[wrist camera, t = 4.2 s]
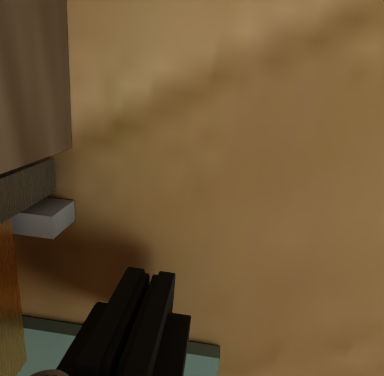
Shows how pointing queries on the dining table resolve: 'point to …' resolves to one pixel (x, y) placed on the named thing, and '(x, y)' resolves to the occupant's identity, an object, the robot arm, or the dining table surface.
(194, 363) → the mat
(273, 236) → the dining table surface
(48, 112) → the cradle
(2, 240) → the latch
